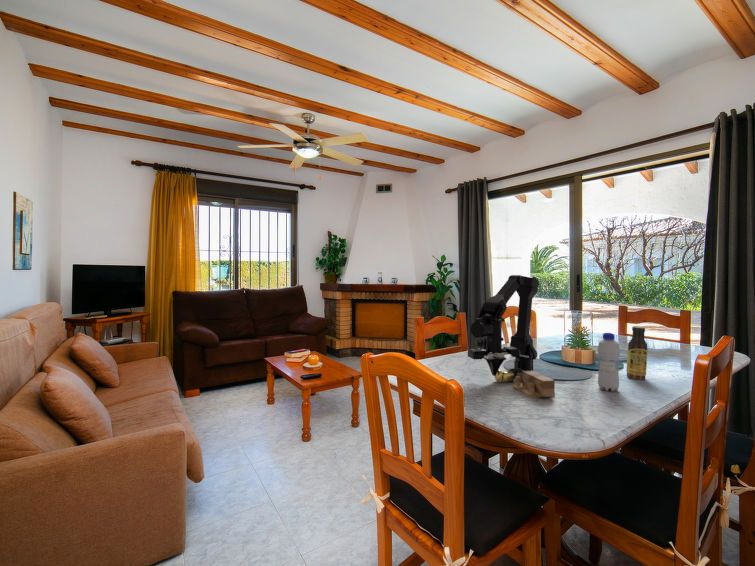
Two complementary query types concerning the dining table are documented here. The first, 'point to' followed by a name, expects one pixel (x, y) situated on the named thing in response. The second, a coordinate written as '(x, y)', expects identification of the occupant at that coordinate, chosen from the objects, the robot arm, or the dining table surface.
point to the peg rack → (526, 390)
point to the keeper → (516, 372)
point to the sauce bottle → (637, 355)
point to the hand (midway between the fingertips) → (493, 375)
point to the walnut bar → (538, 383)
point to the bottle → (608, 363)
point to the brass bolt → (504, 376)
